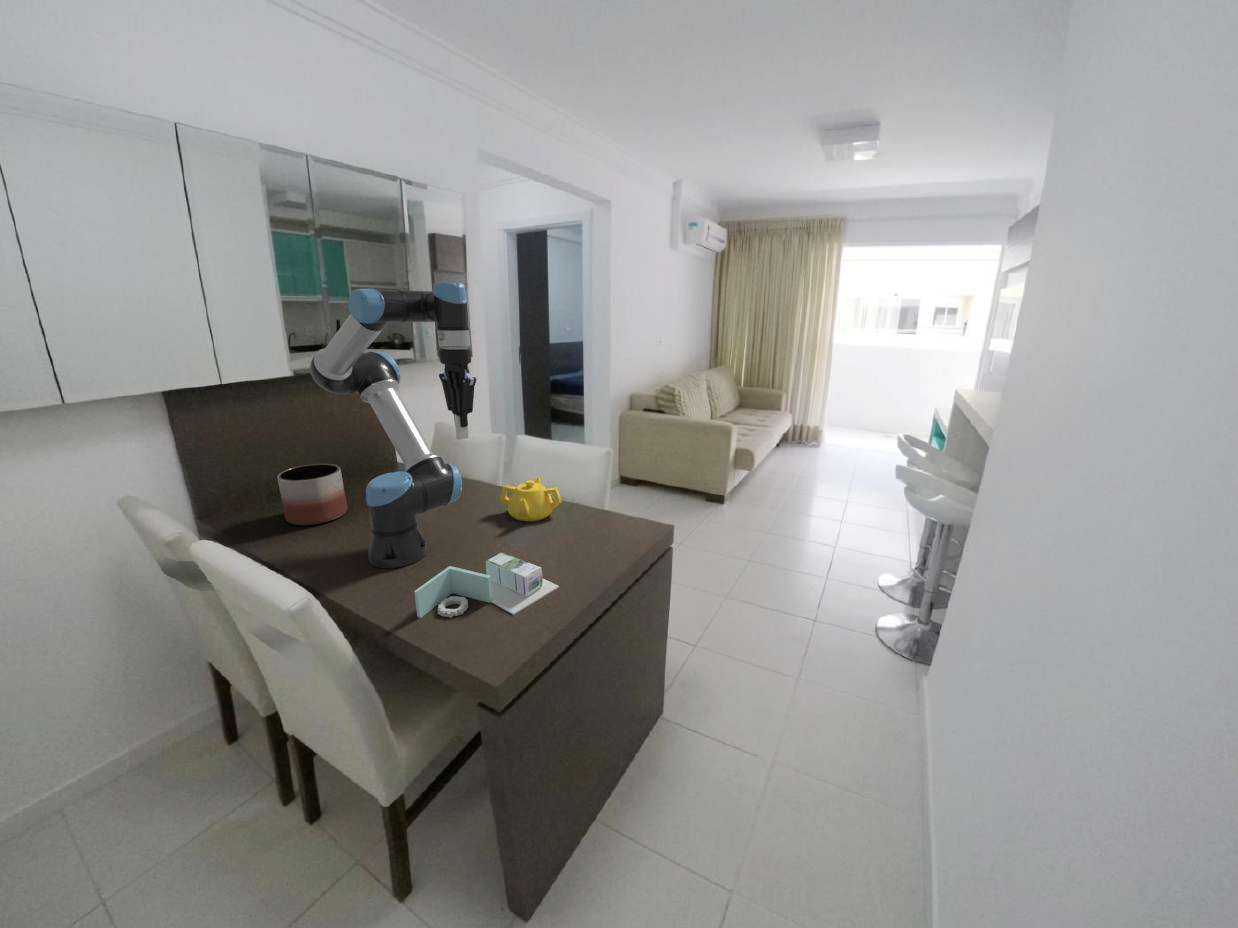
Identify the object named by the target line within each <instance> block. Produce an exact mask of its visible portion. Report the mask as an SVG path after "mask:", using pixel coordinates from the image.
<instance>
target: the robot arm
mask: <svg viewBox="0 0 1238 928" xmlns="http://www.w3.org/2000/svg"><path fill="white" fill-rule="evenodd" d="M432 287H433V288H432V289H433V290H431V291H430V290H406V289H405V290H404V289H403V290H401V289H383V288H382V289H379V288H370V287H368V288H357V289H354V290H352V291H351V292H350V294H349V296H348V297H349V300H348V309H349V313H350V314H349V315H348V316H347V318H346V319H345V320H344V322H343V323H342V325H341V326H340V327H339V329H338V330H337V332H336V333H335V334H334V336H333V337H332V339H330V341H329V343H328V344H327V345H326V347H325V348H322V349H319V350H317V351H316V353H315V354H314V356H313V357H312V359H311V361H310V365H309V372H310V375H311V377H312V379H313V381H314V382H315V384H317V385H318V386H319V387H320V388H321V389H323V390H325V392H329V393H331V394H335V395H347V394H348V395H349V394H357V395H359V398H360V399H361V401H362V402H363V403H366V404H370V406H371V409H372V410H373V412H374V414H375V415H376V417H377V419H378V420H379V422H380V424H381V426H382V428H383V430H384V431H385V433H386V434H387V437H388V438H389V440H390V442H391V443H392V446H393V447H394V450H396V452H397V454H398V456H399V457H400V459H401V461H402V463H403V464H404V466H405V470H404V471H397V470H396V471H394V472H391V471H390V472H388V473H383V474H380V475H378V476H375V478H373V479H371V480H370V481H369V482H368V483H367V485H366V487H365V496H366V497H365V502H366V505H367V510H368V511H367V512H368V516H369V517H368V518H369V523H370V530H371V538H370V542H369V547H368V551H367V557H368V561H369V564H370V565H371V566H373V567H376V568H380V569H394V568H397V569H398V568H402V567H406V566H409V565H412V564H414V563H416V562H418V561H420V560H421V559H423V557H425V556H426V554H427V552H428V547H427V543H426V540H425V538H424V536H423V534H422V532H421V530H420V528H419V526H418V520H417V516H419V515H421V514H425V513H427V512H430V511H433V510H436V509H439V508H441V507H445V506H448V505H449V504H451V503H454V502H456V501H457V500H458V499H459V498H460V496H461V495H462V491H463V478H462V475H461V472H460V471H459V469H458V467H457V466H456V465H455V464H453V463H445V462H444V460H443V458H442V457H441V456H440V455H438V454H434V453H433V452H432V451H433V450H432V449H431V448H430V446H429V444H428V442H427V441H426V439H425V438H424V436H423V434H422V432H421V430H420V428H419V426H418V425H417V423H416V422H415V420H414V418H413V416H412V415H411V413H410V411H409V409H408V408H407V405H406V404H405V403H404V401H403V399H402V397H401V396H400V394H399V388H400V383H401V373H399V372H400V368H399V366H398V364H397V361H395V359H393V357H392V355H391V356H390V355H389V354H388V353H386V352H381V351H367V349H368V348H369V347H370V346H371V344H373V342H374V341H375V340H376V339H377V337H379V335H380V334H381V333H382V331H383V330H384V329H385V328H386V327H387V326H388V324H390V323H436V330H437V339H438V346H439V347H441V348H440V349H439V350H438V351H439V361H440V364H442V365H444V368H443V370H444V372H442V373H439V374H438V377H439V379H440V382H441V384H442V390H443V395H444V398H445V402H446V403H445V404H446V406H447V410H448V411H450V412H451V413H452V414H453V419H454V425H455V438H456V439H457V440H460V441H461V440H464V439H469V430H468V429H469V427H468V426H469V422H468V415H469V414H471V413H473V411H474V398H475V386H476V383H477V378H476V377H475V376H474V377H473V376H471V374H470V369H469V364H470V363H472V354H471V349H470V348H469V347H470V346H471V337H470V330H469V329H470V328H469V313H468V310H469V309H468V298H467V292H466V286H465V285H464V284H463V283H462V282H450V281H449V282H447V281H437V282H434V283H433V286H432ZM366 351H367V352H366Z"/></svg>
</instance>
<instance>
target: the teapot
mask: <svg viewBox="0 0 1238 928" xmlns="http://www.w3.org/2000/svg"><path fill="white" fill-rule="evenodd" d="M508 492H510V493H511V494H510V497H508ZM551 494H552V496H551ZM552 497H553V499H552ZM498 501H499V502H501V503H502V504H503V505H504V506H505V507H507V513H509V515H510V516H511V517H512V518H513V519H515V520H516V521H520V522H521V521H522V522H537V521H541V520H544V519H546V518H548V517H549V515H551V513H552V512H553V510H554V509H555V508H557V507H558V506H559V505H561V503H562V502H563V500H562V496H561V494H560V491H559V488H558V487H550V488H549V487H548V488H546V487H545V485H543V484H542V483H541V477H535V478H534V480H532V479H531V480H529V479H528V480H526V481H524V482H523V483H520V484H518V485H517V486H512V485H509V484H503V486H502V488H501V492H500V495H499V498H498Z"/></svg>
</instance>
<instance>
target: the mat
mask: <svg viewBox="0 0 1238 928" xmlns="http://www.w3.org/2000/svg"><path fill="white" fill-rule="evenodd" d="M491 585H492V600H491V603H492V604H493V605H495V606H497V607H498V608H500V609H502V610H504V611H506V612H507V613H509V614H511V615H512V616H515V615H516V614H518V613H520V612H522V611H523V610H525V609H526V608H528V607H530V606H531V605H533V604H535V603H536V602H537V601H539V600H541V599H543V598H544V597H547V596H548V595H549V594H551V593H552V592H554V591H556V590H558V589H559V588H560V585H558V584H556V583H553V582H551V581H550V580H547V579H545V578H543V585H542V587H540V588H539V589H537V590H536V591H535V592H533V593H532V594H530V595H529V596H525V595H523V594H520V593H518V592H516V591H514V590H511V589H509V588H507V587H505V586H502V585H500V584H498V583H495V582H493V581H491Z"/></svg>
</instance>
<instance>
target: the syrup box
mask: <svg viewBox="0 0 1238 928" xmlns="http://www.w3.org/2000/svg"><path fill="white" fill-rule="evenodd" d="M485 570H486V575H489V576H491V581H493V582H495V583H498V584H500V585H502V586H505V587H507V588H509V589H511V590H514V591H516V592H518V593H520V594H523V595H525V596H529V595H530V594H532V593H533V592H535V591H536V590H537V589H539V588H540V587H542V585H543V579H544V578H543V568H542V567H541V566H538V565H535V564H533V563H530V562H528V561H525V560H524V559H520V558H518V557H515V556H512V555H510V554H507V553H505V552H503V551H501V552H499V553H498V554H496V555H493V556H492V557H490V558H489V559H487V560H485Z"/></svg>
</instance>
